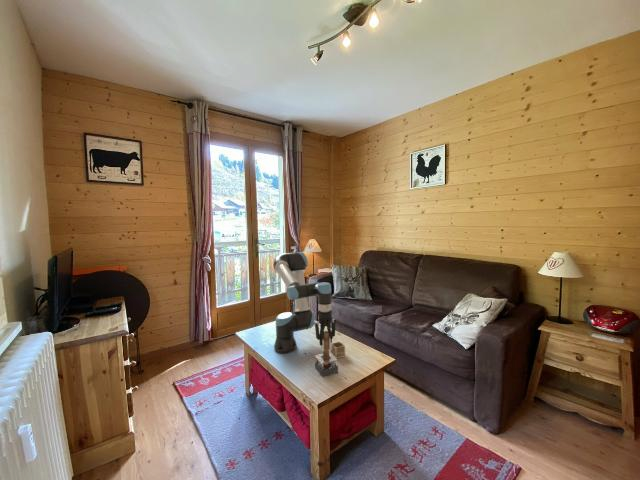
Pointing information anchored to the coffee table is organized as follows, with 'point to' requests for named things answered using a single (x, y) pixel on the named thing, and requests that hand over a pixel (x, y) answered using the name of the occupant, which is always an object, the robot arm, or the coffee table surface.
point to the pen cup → (338, 349)
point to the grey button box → (326, 369)
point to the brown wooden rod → (326, 345)
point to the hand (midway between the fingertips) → (325, 349)
